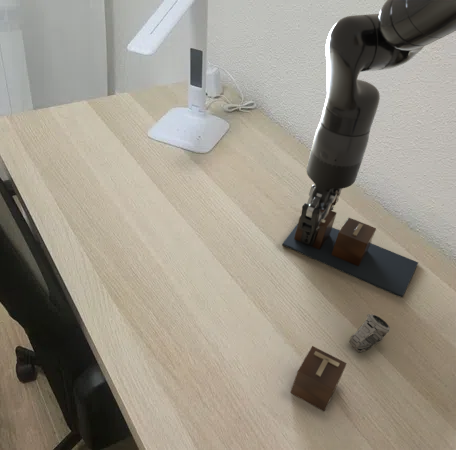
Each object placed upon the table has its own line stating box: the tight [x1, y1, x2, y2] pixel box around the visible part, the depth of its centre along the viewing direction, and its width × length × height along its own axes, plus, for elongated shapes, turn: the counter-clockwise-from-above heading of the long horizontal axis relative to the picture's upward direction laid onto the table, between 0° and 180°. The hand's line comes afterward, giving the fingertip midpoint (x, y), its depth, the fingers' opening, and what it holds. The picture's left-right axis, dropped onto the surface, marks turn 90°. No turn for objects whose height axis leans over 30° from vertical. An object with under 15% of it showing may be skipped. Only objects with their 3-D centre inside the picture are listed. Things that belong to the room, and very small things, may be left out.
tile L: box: [294, 209, 337, 250], centre depth 92 cm, size 5×5×5 cm
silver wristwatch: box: [348, 313, 391, 353], centre depth 76 cm, size 4×6×5 cm, turn 120°
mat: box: [281, 223, 419, 298], centre depth 91 cm, size 20×9×1 cm, turn 56°
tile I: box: [332, 217, 377, 266], centre depth 89 cm, size 5×5×5 cm
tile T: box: [290, 345, 347, 412], centre depth 70 cm, size 5×5×5 cm
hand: (313, 234), depth 93 cm, fingers closed on tile L, 4 cm apart
